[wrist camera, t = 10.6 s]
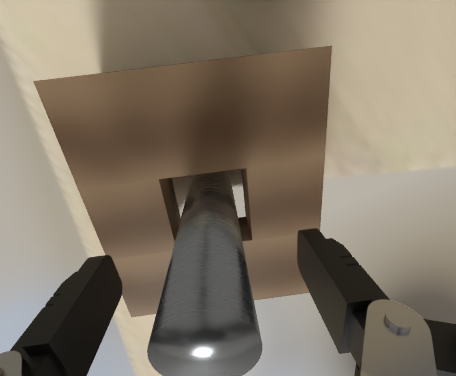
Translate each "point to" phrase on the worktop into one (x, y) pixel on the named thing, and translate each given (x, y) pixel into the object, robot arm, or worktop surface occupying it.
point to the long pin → (206, 290)
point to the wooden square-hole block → (197, 158)
